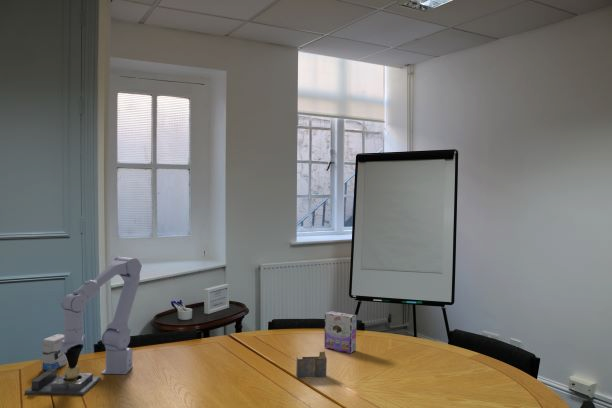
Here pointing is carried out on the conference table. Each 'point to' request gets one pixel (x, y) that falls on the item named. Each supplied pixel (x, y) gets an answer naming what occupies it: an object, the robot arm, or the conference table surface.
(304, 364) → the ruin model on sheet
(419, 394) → the conference table surface
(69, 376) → the bushing
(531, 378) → the conference table surface
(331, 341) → the candy box
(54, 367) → the ink box
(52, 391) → the jig
